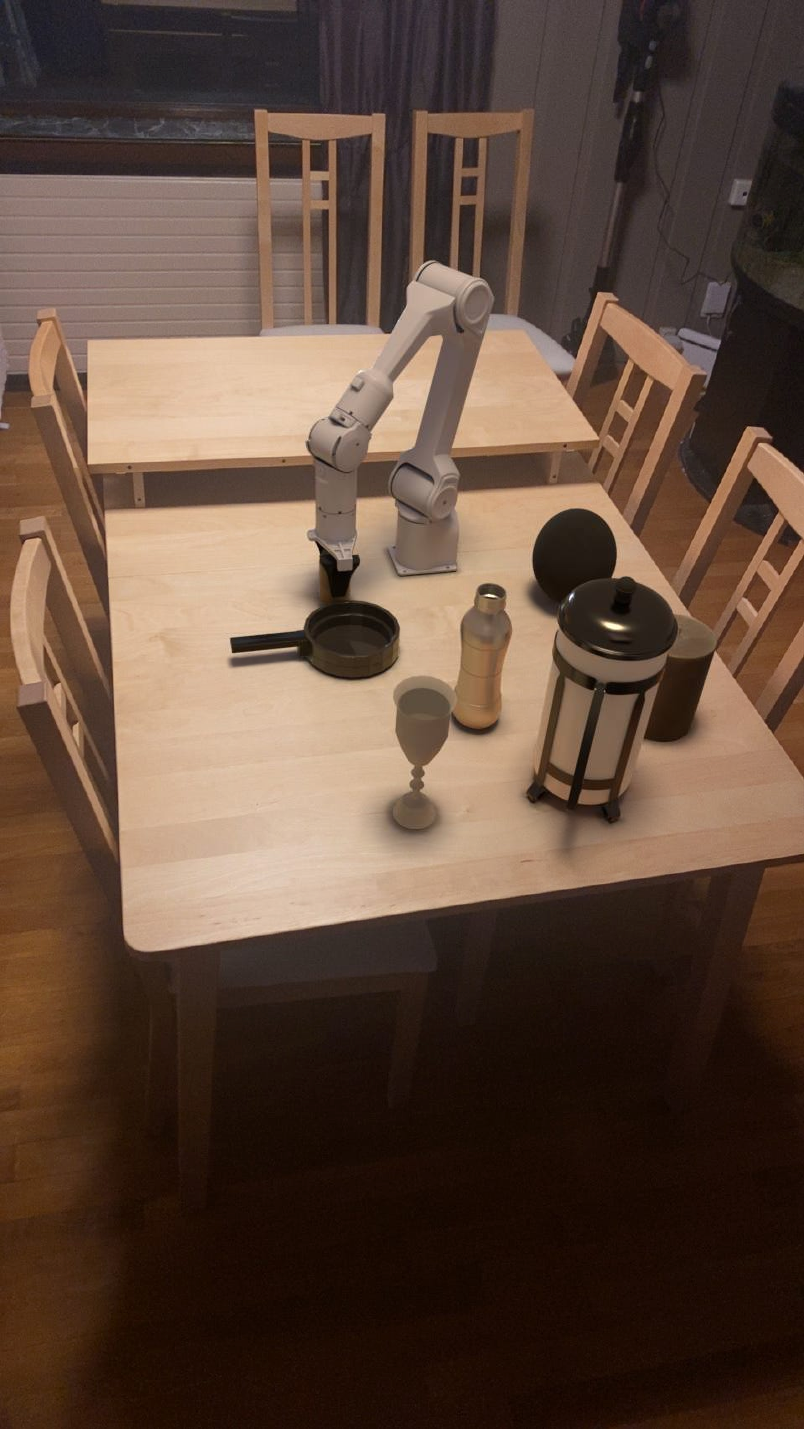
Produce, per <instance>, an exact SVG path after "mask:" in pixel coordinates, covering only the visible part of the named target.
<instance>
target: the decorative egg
mask: <svg viewBox="0 0 804 1429" xmlns="http://www.w3.org/2000/svg"><path fill="white" fill-rule="evenodd" d="M533 544H534V545H533V549H532V556H531V557H532V558H531V563H532V571H533V575H534V578H535V580H536V583H537V585H538V587H539V589H541V591H542V592H543V593H544V594H545V595H546V596H547V598H549V599H551V600H552V601H554V602H556V603H558V604H559V605H560V604H561V602H562V601H563V599H564V598H565V597H566V596H568V595H569V594H570V593H571V592H572V591H573V590H574V589H575V588H577V587H578V586H580V585H582V584H584V583H586V582H589V581H592V580H596V579H602V578H613V575H614V573H615V571H616V570H615V569H616V567H617V559H618V548H617V542H616V538H615V535H614V533H613V530H612V529H611V527H610V525H609V524H608V522H607V521H606V520H605V519H604V518H603V517H602V516H601V515H599V514H598V513H596V512H594V511H592V510H590V509H586V508H581V507H580V508H579V507H577V508H576V507H575V508H568V509H565V510H562V511H559V512H558V513H556V514H555V515H553V516H552V517H551V518H550V519H549V520H547V521H546V523H544V524H543V526H542V527H541V529H540V530H539V532H538V534H537V536H536V539H535V540H534V543H533Z"/></svg>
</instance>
